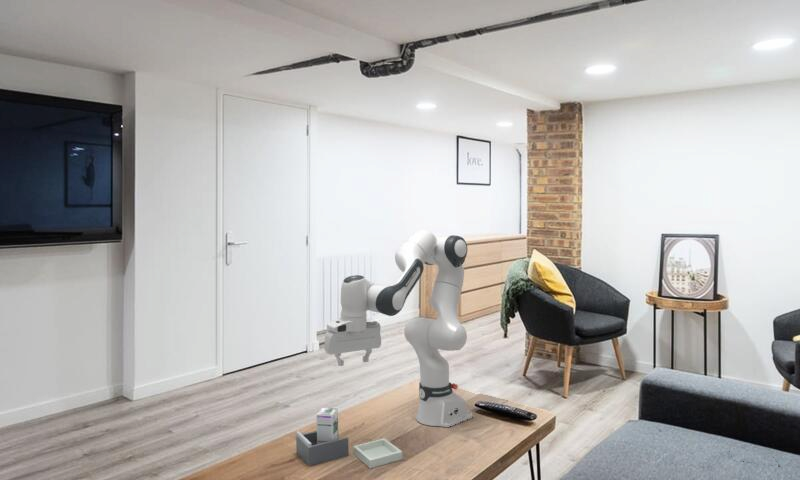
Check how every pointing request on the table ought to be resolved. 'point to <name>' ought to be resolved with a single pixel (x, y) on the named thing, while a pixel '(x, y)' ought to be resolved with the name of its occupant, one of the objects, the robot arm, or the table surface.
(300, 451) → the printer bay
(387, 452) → the tray
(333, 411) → the syrup box
